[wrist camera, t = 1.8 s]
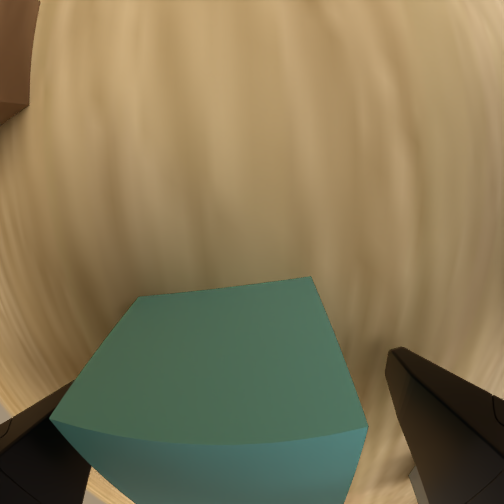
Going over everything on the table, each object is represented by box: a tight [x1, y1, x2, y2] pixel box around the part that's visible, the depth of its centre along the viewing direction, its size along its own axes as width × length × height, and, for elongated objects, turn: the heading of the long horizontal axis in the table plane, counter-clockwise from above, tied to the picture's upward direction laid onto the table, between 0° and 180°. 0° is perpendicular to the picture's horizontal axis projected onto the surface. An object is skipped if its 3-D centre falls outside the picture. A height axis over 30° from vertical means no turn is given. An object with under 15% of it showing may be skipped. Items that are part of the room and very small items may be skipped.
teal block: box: [49, 276, 368, 504], centre depth 6 cm, size 5×5×5 cm
